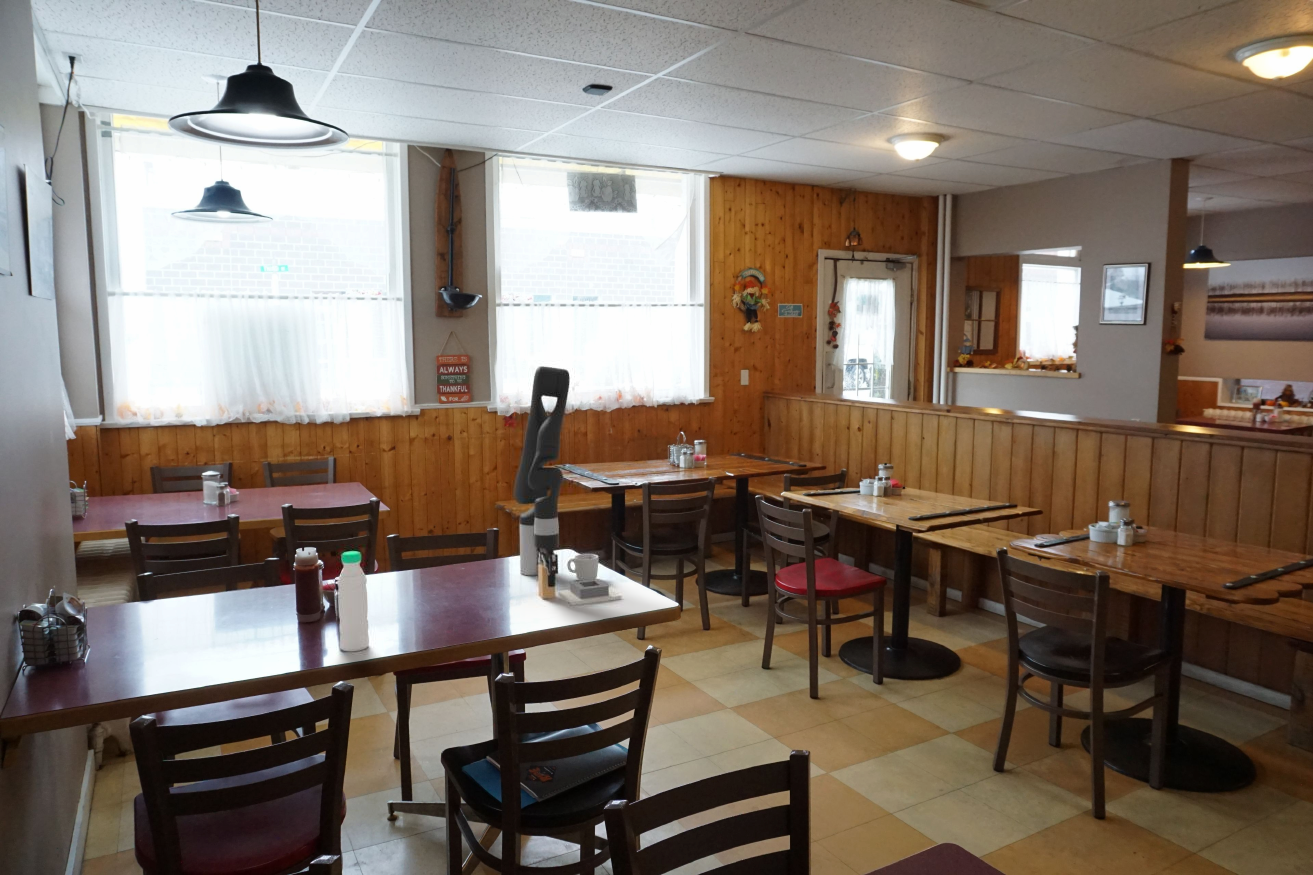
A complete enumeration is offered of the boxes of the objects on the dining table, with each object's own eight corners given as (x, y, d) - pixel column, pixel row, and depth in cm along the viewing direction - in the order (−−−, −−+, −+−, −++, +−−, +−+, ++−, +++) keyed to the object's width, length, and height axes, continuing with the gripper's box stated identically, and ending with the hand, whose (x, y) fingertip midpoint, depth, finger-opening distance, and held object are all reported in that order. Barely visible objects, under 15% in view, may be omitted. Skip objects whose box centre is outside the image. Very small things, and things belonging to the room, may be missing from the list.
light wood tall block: (538, 595, 270) (538, 556, 269) (551, 594, 272) (550, 555, 271) (542, 599, 267) (542, 559, 265) (555, 597, 268) (554, 558, 267)
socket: (558, 594, 272) (557, 581, 271) (605, 588, 279) (605, 576, 278) (572, 605, 260) (571, 592, 260) (621, 598, 267) (621, 586, 266)
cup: (563, 581, 287) (562, 557, 286) (572, 575, 294) (572, 552, 294) (593, 584, 284) (593, 560, 283) (602, 577, 291) (602, 554, 290)
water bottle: (359, 641, 229) (355, 548, 226) (374, 646, 224) (371, 552, 222) (334, 648, 223) (330, 552, 221) (349, 654, 219) (346, 557, 216)
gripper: (565, 534, 262) (566, 587, 264) (550, 526, 275) (551, 576, 277) (541, 537, 259) (542, 590, 261) (527, 528, 272) (528, 579, 274)
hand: (547, 583), depth 269 cm, fingers open, 8 cm apart
